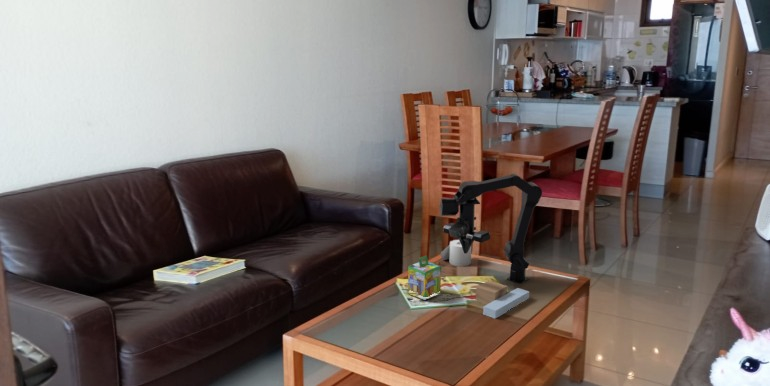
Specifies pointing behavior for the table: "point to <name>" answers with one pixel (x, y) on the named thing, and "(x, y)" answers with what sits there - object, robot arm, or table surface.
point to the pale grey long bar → (505, 303)
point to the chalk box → (424, 277)
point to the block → (490, 292)
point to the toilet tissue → (456, 254)
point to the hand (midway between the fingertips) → (465, 253)
